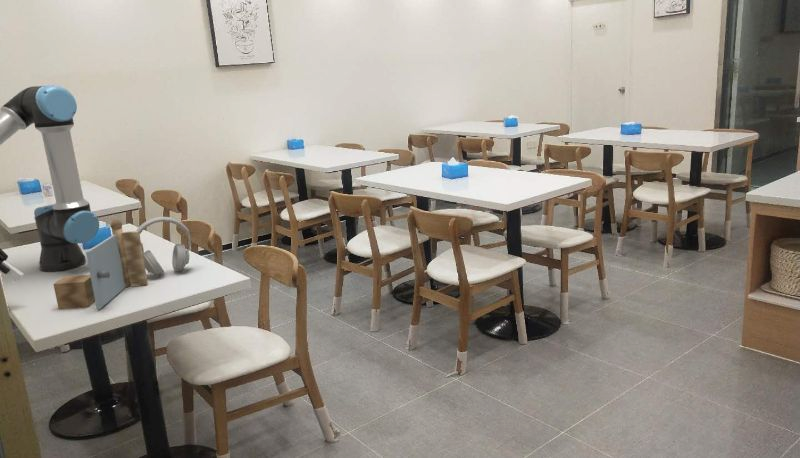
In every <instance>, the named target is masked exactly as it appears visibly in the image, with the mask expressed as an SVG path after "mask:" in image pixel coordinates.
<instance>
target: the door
mask: <svg viewBox="0 0 800 458" xmlns="http://www.w3.org/2000/svg"><path fill="white" fill-rule="evenodd" d="M85 255H86V259H87V260H86V262H87V265H88V271H89V275H90V276H91V281H92V287H93V292H94V297H95V306H96V310H101V309H102V308H103V307H105V306H106V305H107V304H108V303H109V302H110V301H111V300H112V299H113V298H114V297H116V296H117V295H118V294H119V293H121V291H123V290H124V289H125V287H126V286H125V279H124V273H123V269H122V264H121V258H120V250H119V245H118V240H117V235H113V234H112V235H111V236H109V237H108V238H106V239H104V240H102V241H101V242H99V243H98V244H96V245H95V246H93V247H91V248H89V249H88V250H87V251H85ZM126 288H127V287H126Z"/></svg>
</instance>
